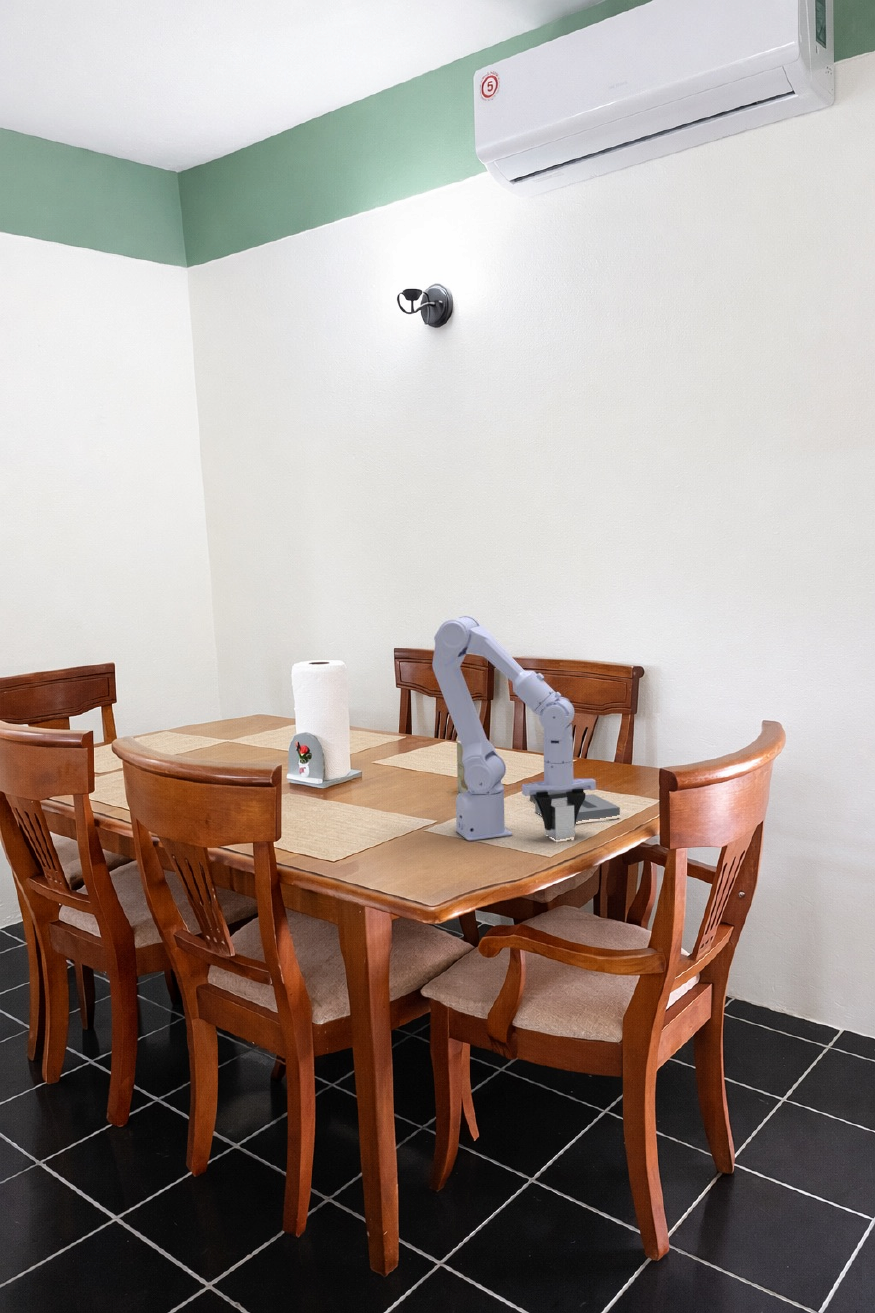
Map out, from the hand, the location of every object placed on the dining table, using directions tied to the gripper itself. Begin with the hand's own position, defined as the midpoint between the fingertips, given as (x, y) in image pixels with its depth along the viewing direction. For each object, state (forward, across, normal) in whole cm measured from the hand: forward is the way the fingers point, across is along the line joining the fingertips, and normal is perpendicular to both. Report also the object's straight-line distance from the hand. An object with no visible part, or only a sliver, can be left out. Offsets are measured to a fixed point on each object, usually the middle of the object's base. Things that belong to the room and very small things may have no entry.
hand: (559, 828), depth 197 cm
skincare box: (+2, +9, -40) cm, 41 cm away
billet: (+2, 0, 0) cm, 2 cm away
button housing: (+2, -7, -26) cm, 27 cm away
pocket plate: (+2, -8, -14) cm, 17 cm away
